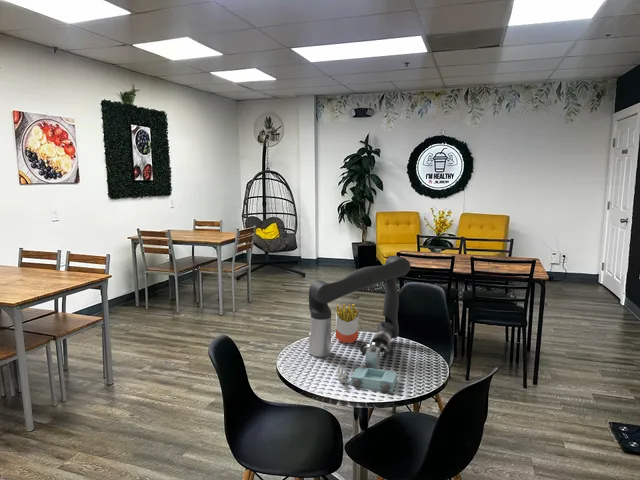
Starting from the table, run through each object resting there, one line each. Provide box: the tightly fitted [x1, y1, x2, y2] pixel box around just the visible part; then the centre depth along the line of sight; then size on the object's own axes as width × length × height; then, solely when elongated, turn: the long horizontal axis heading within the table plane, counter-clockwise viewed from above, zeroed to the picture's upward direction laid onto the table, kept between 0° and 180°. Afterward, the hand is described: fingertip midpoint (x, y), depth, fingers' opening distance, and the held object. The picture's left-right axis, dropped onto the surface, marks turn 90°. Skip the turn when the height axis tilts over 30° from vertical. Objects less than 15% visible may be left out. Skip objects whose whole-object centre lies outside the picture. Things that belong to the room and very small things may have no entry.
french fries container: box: [335, 303, 360, 344], centre depth 211 cm, size 5×11×18 cm, turn 88°
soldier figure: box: [336, 364, 351, 385], centre depth 170 cm, size 8×5×12 cm
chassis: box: [350, 366, 398, 394], centre depth 168 cm, size 16×12×4 cm
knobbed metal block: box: [364, 345, 381, 370], centre depth 179 cm, size 5×6×11 cm
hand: (373, 355), depth 180 cm, fingers open, 8 cm apart
